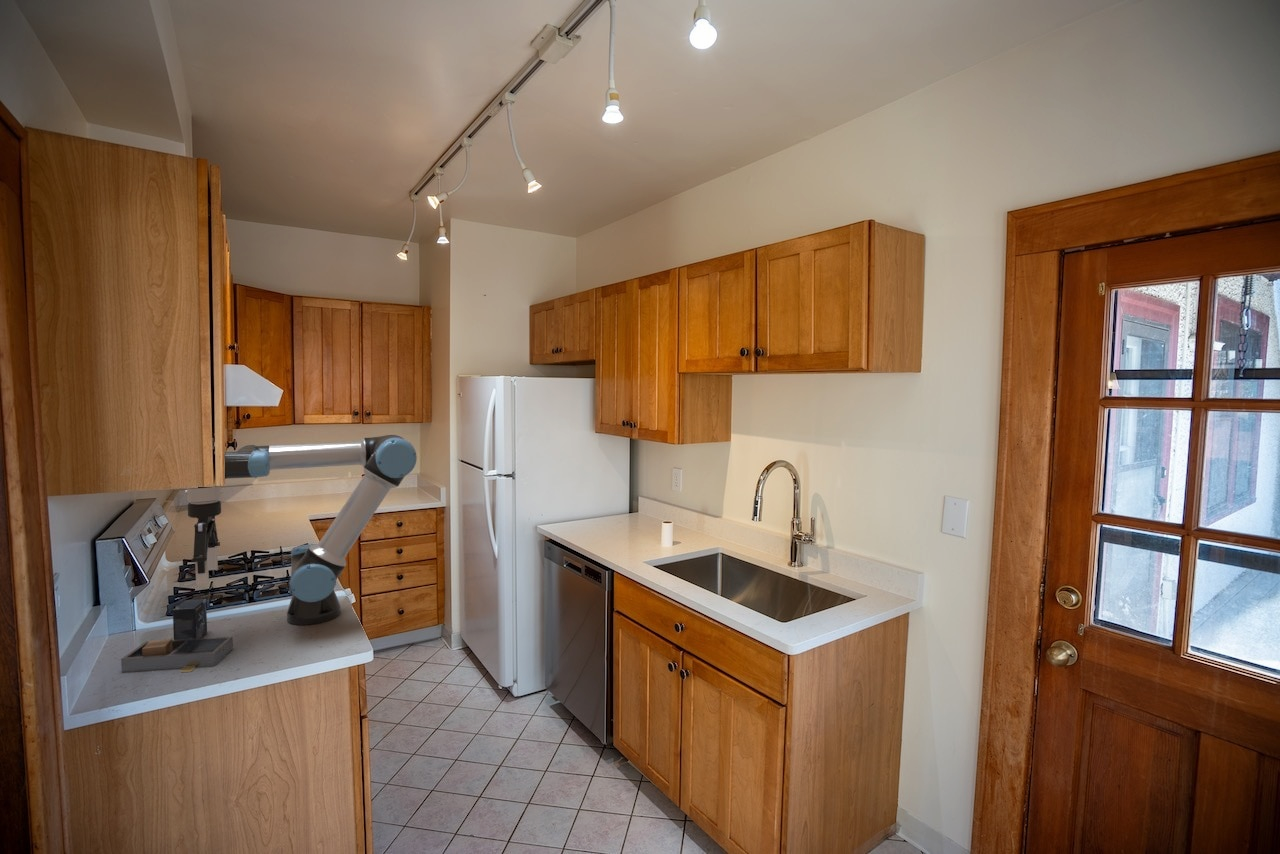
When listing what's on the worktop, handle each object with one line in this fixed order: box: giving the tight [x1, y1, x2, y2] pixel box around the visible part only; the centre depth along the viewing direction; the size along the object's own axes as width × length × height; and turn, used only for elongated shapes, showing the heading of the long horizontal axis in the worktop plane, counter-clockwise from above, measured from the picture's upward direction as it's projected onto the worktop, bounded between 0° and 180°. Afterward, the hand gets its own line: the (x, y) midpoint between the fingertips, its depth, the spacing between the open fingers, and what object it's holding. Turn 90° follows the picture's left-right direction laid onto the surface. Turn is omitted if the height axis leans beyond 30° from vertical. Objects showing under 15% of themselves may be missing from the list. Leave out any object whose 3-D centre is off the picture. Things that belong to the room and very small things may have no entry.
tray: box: [120, 636, 234, 673], centre depth 165 cm, size 13×22×4 cm, turn 100°
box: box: [172, 598, 208, 640], centre depth 179 cm, size 8×6×11 cm
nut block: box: [142, 638, 173, 656], centre depth 165 cm, size 5×5×5 cm
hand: (207, 577), depth 171 cm, fingers open, 13 cm apart
